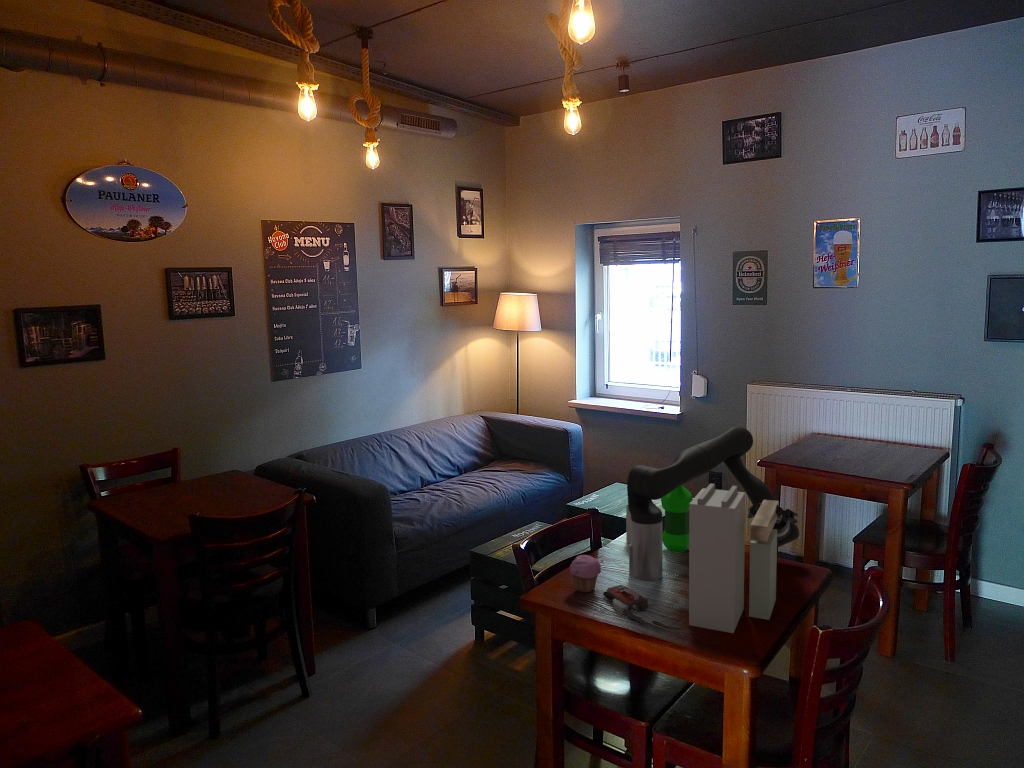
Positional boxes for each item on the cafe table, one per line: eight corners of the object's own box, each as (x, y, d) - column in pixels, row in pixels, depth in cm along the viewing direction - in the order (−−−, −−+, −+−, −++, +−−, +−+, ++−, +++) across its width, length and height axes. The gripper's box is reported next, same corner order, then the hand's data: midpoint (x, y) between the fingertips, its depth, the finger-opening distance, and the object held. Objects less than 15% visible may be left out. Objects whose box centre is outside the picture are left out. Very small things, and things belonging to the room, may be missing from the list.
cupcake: (579, 581, 213) (578, 548, 211) (606, 587, 208) (605, 554, 207) (565, 592, 205) (564, 558, 204) (592, 598, 201) (592, 564, 199)
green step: (749, 616, 187) (750, 542, 184) (756, 596, 199) (757, 527, 196) (769, 619, 185) (770, 545, 182) (775, 599, 196) (777, 529, 194)
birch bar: (750, 540, 181) (750, 524, 181) (763, 513, 202) (763, 499, 201) (766, 542, 179) (767, 526, 179) (778, 514, 200) (778, 501, 199)
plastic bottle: (698, 548, 236) (699, 474, 232) (681, 558, 228) (681, 481, 225) (672, 542, 243) (672, 469, 239) (654, 550, 235) (654, 476, 232)
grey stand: (689, 625, 183) (689, 497, 179) (702, 601, 196) (702, 482, 192) (733, 633, 178) (734, 502, 174) (743, 608, 192) (745, 486, 187)
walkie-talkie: (596, 599, 201) (639, 628, 183) (596, 584, 200) (639, 612, 183) (622, 592, 205) (667, 620, 187) (622, 577, 204) (667, 604, 187)
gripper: (750, 506, 214) (742, 491, 200) (802, 511, 208) (797, 497, 193) (748, 531, 212) (740, 518, 197) (800, 537, 205) (795, 524, 191)
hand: (768, 507), depth 195 cm, fingers closed on birch bar, 4 cm apart
